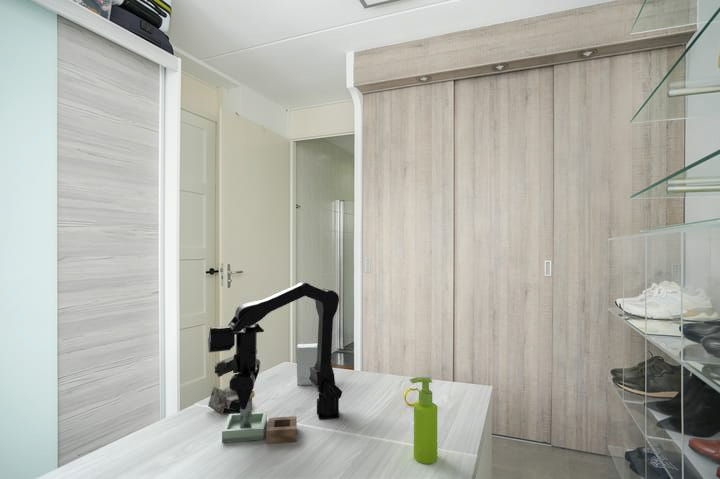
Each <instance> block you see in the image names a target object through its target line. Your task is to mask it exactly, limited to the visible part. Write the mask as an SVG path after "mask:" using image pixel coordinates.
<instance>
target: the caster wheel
mask: <svg viewBox="0 0 720 479" xmlns="http://www.w3.org/2000/svg"><path fill="white" fill-rule="evenodd" d="M207 406H208V407H209V408H210V409H212V410H214V411H215V412H217V413H219V414H224V410H225V409H228V410H234V411H240V409H241V406H240V402H239V398H238V395H237V393H236V392H235V391H233V390H231V389H230V388H229V386H225V387H223V388H219V387H216V386H215V385H214V386H213V387H212V390H211V395H210V398H209V400H208V405H207Z"/></svg>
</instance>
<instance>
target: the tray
mask: <svg viewBox="0 0 720 479" xmlns="http://www.w3.org/2000/svg"><path fill="white" fill-rule="evenodd" d="M267 424H268V411H260V412H259V411H257V412H252V428H240V413H229V414H228V417H227V419H226V420H225V423H224V426H223V428H222V430H221V443H232V442H246V441H261V440H264V438H265V435H266V429H267Z"/></svg>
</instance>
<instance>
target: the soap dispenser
mask: <svg viewBox="0 0 720 479" xmlns="http://www.w3.org/2000/svg"><path fill="white" fill-rule="evenodd" d="M409 381H410V383H411V384H415V383H422V384H421V385H422V386H421V389H419V391H418V400H419V402H417V401H416V402H417V403H416V402H414V403H415V404H414V405H413V459H414V460H415V461H416V462H417V463H420V464H423V465H433V464H435V463H436V462H437V461H438V405H437V404H436V403H434V402H433V391H431V389H430V383H431V384H432V383H433V379H432V378H430V377H423V376H422V377H414V378H410V379H409Z"/></svg>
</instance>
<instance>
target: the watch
mask: <svg viewBox="0 0 720 479" xmlns="http://www.w3.org/2000/svg"><path fill="white" fill-rule="evenodd" d="M410 391H417V392H419V391H420V389H418V386H416V385H409V386H408V388H407V389H405V391H404V393H403V400H404V402H405V403H406V404H407V405H408V406H414V404H415V403H417V402H419V399H418V400H417V401H416V402H408V401H407V394H408V393H409V392H410Z"/></svg>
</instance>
